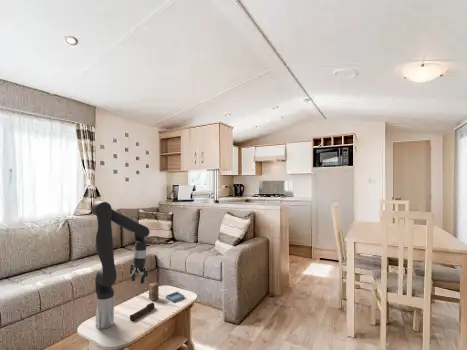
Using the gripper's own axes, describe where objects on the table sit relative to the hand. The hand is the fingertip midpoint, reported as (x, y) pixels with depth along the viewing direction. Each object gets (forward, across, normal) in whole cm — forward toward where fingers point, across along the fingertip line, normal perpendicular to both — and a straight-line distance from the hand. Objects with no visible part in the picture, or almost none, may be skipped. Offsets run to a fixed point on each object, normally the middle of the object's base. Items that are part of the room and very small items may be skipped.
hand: (137, 282), depth 168 cm
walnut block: (+18, -7, +23) cm, 30 cm away
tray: (+17, +6, +31) cm, 36 cm away
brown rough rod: (+21, +3, +4) cm, 22 cm away
